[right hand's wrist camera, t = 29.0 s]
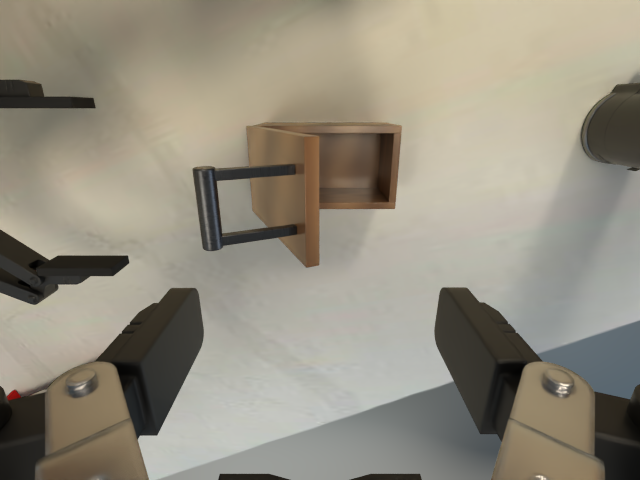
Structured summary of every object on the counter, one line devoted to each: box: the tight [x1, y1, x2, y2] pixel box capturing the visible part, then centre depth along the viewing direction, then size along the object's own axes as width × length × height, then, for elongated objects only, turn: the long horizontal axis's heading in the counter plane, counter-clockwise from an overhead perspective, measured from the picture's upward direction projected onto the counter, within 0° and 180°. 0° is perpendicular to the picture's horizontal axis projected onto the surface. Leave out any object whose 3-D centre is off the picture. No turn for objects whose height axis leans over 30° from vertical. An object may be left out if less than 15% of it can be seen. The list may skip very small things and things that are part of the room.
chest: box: [254, 123, 402, 209], centre depth 43 cm, size 16×9×9 cm, turn 90°
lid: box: [193, 126, 319, 267], centre depth 30 cm, size 17×9×8 cm
